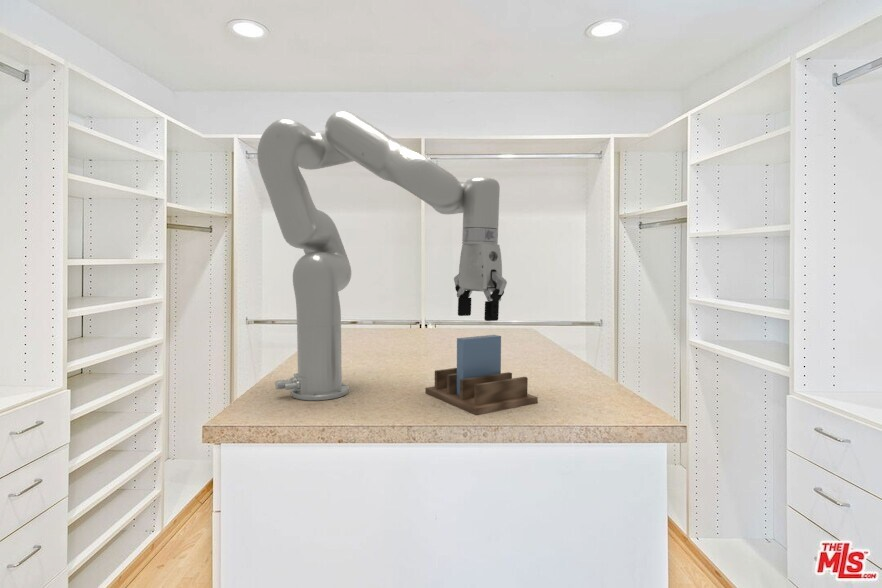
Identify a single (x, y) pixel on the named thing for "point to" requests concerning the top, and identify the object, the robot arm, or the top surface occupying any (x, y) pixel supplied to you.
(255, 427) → the top surface
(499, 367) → the tile
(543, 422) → the top surface
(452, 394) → the rack
